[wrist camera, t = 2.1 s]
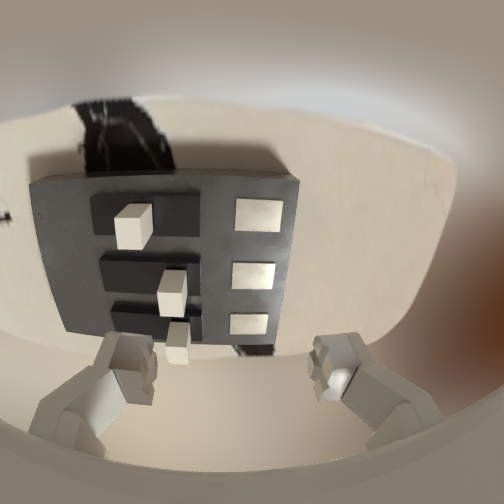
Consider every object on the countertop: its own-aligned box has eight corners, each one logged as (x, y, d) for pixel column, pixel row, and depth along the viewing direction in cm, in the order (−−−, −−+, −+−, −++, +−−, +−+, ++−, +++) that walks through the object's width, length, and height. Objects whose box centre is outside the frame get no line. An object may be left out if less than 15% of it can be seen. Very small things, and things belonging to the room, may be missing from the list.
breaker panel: (75, 315, 28) (63, 337, 24) (45, 176, 20) (22, 187, 17) (270, 325, 31) (276, 350, 27) (290, 173, 23) (303, 183, 20)
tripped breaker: (131, 231, 20) (117, 249, 17) (129, 203, 19) (114, 218, 16) (153, 231, 20) (142, 249, 17) (151, 203, 19) (139, 218, 16)
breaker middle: (166, 292, 22) (160, 316, 19) (164, 269, 21) (156, 292, 18) (187, 293, 22) (183, 317, 20) (186, 270, 22) (181, 293, 19)
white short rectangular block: (172, 338, 25) (168, 363, 22) (170, 321, 24) (165, 346, 21) (190, 339, 25) (188, 364, 22) (189, 322, 24) (186, 347, 21)
